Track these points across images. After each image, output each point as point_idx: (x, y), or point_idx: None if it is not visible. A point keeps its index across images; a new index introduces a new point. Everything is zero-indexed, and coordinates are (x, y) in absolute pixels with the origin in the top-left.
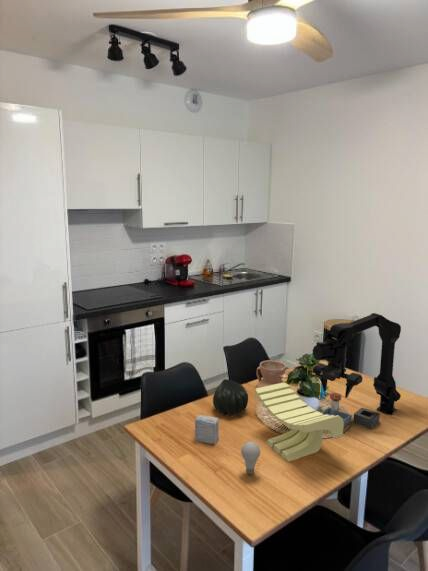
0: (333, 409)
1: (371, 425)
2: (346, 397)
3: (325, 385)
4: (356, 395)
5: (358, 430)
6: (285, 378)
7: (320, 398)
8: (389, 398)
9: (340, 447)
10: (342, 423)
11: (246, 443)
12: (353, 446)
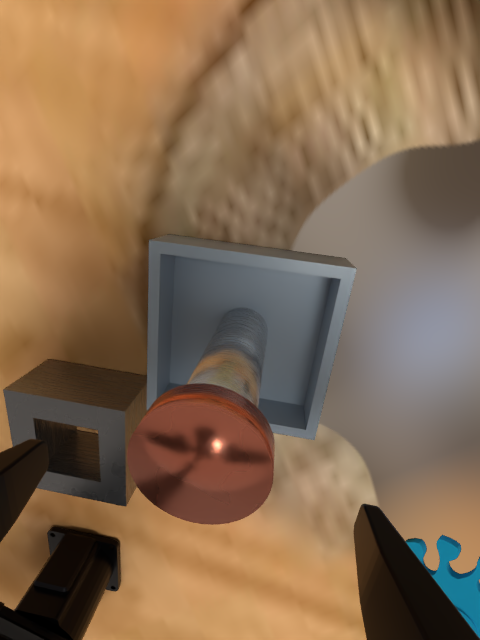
0: (227, 345)
1: (33, 371)
2: (20, 443)
3: (385, 617)
4: (247, 626)
5: (93, 313)
6: None
7: (406, 542)
8: (7, 624)
9: (72, 5)
10: None
11: None
12: (21, 92)
